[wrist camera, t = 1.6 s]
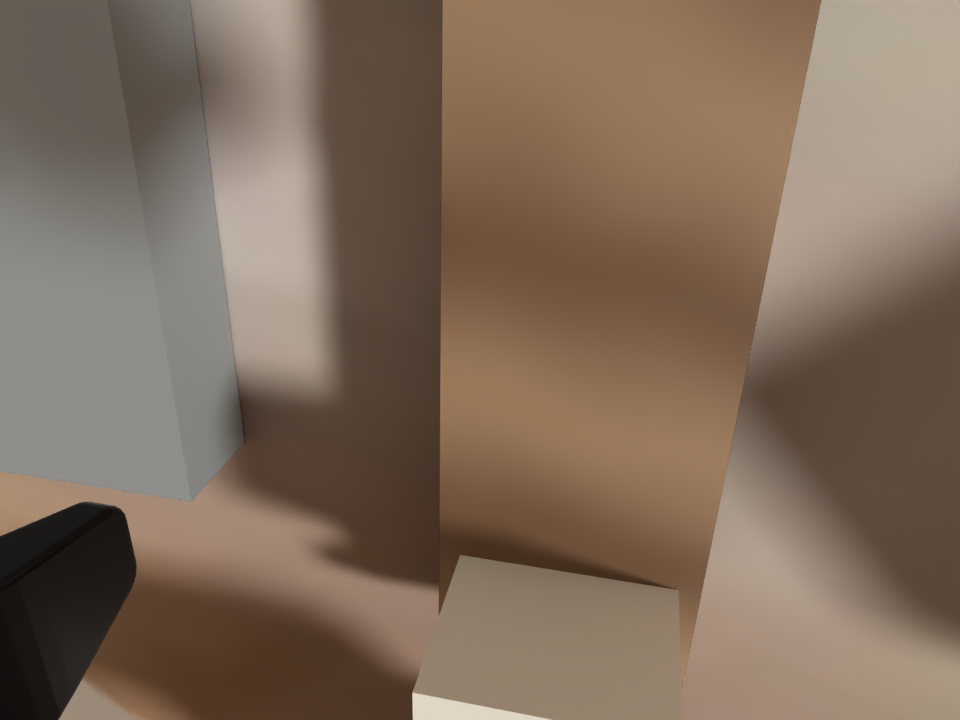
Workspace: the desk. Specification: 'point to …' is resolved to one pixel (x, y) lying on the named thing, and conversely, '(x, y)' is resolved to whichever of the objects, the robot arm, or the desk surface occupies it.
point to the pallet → (605, 273)
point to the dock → (110, 252)
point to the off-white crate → (550, 648)
